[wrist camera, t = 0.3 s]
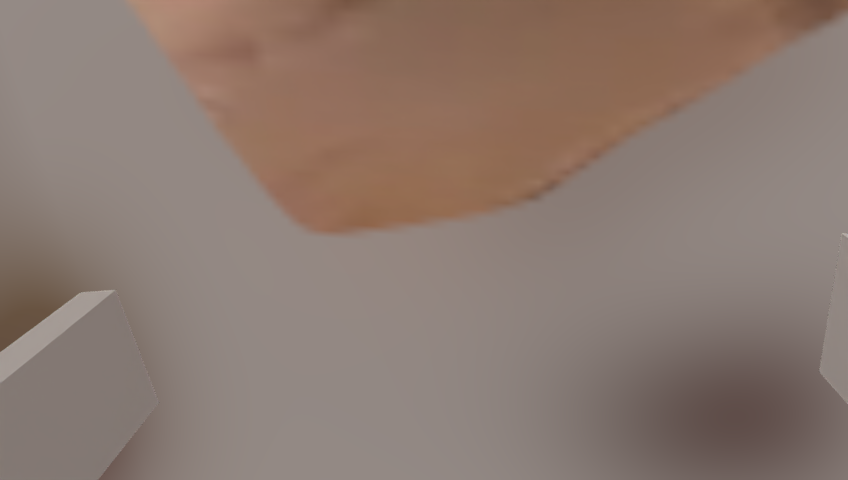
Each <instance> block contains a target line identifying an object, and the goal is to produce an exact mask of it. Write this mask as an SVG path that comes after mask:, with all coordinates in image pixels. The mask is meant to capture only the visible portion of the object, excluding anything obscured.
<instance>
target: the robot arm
mask: <svg viewBox="0 0 848 480" xmlns="http://www.w3.org/2000/svg"><path fill="white" fill-rule="evenodd" d="M819 372H820V373H821V374H822V376H823V377H824V378H825V379H826V380H827V381H828V382H829V383H830V385H831V386H832V387H833V388H834V389H835V390H836V391H837V392H838V394H839V395H840V396H841V397H842V398H843V399H844V400H845V402H846V403H847V404H848V233H843V234H841V240H840V246H839V253H838V259H837V265H836V272H835V277H834V283H833V289H832V296H831V302H830V308H829V314H828V321H827V326H826V333H825V339H824V345H823V351H822V357H821V364H820V369H819ZM158 403H159V401H158V399H157V396H156V393H155V391H154V388H153V386H152V383H151V380H150V378H149V375H148V373H147V370H146V367H145V365H144V362H143V360H142V357H141V354H140V352H139V349H138V347H137V344H136V341H135V339H134V336H133V333H132V331H131V328H130V326H129V323H128V320H127V318H126V315H125V313H124V310H123V308H122V305H121V302H120V300H119V297H118V294H117V292H116V290H107V291H94V292H82V293H79V294H78V295H77V296H75V297H74V298H73V299H71V300H70V301H69V302H67V303H66V304H65V305H63V306H62V307H61V308H60V309H58V310H57V311H55V312H54V313H53V314H51V315H50V316H49V317H47V318H46V319H44V320H43V321H42V322H40V323H39V324H38V325H36V326H35V327H34V328H32V329H31V330H30V331H28V332H27V333H26V334H24V335H23V336H22V337H20V338H19V339H18V340H16V341H15V342H14V343H12V344H11V345H10V346H8V347H7V348H6V349H4V350H3V351H1V352H0V480H98V479H99V478H100V476H101V475H102V474H103V473H104V471H105V470H106V469H107V468H108V466H109V465H110V464H111V463H112V461H113V460H114V459H115V458H116V456H117V455H118V454H119V452H120V451H121V450H122V449H123V447H124V446H125V445H126V444H127V442H128V441H129V440H130V439H131V437H132V436H133V435H134V434H135V432H136V431H137V430H138V428H139V427H140V426H141V425H142V423H143V422H144V421H145V420H146V418H147V417H148V416H149V414H150V413H151V412H152V411H153V409H154V408H155V407H156V406H157V404H158Z"/></svg>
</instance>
